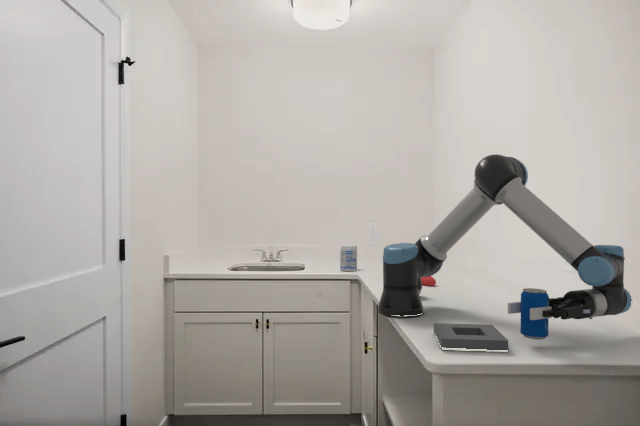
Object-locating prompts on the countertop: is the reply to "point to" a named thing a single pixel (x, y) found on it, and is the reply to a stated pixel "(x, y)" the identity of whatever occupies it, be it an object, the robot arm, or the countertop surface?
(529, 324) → the beverage can
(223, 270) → the countertop surface
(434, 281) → the stress ball
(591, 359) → the countertop surface
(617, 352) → the countertop surface
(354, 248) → the supplement tub
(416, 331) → the countertop surface
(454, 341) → the socket plate
